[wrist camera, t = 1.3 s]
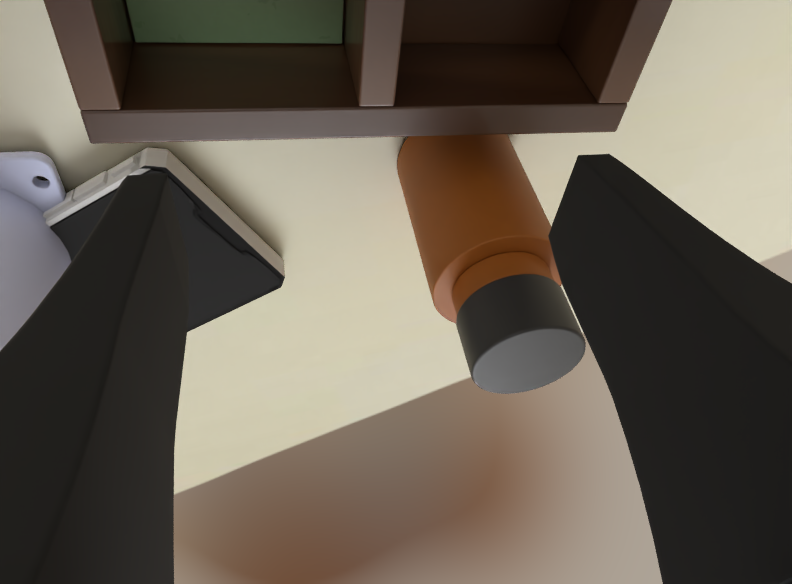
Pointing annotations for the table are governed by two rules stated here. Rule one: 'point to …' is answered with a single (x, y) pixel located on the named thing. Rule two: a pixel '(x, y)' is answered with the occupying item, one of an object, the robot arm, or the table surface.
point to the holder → (351, 66)
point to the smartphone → (201, 229)
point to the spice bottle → (489, 259)
